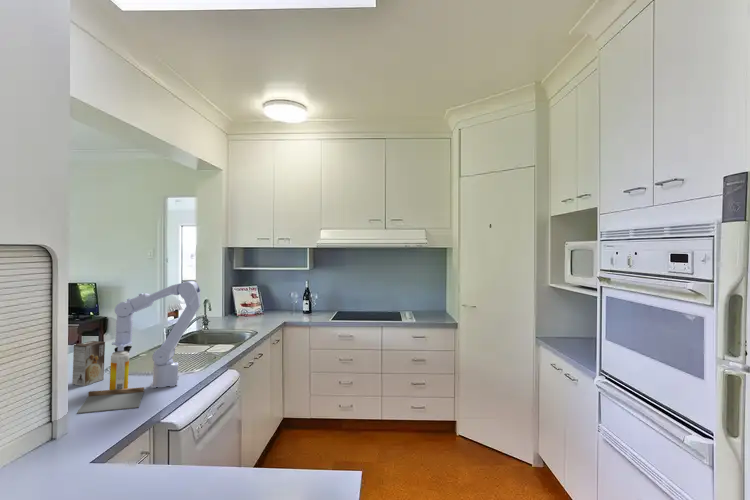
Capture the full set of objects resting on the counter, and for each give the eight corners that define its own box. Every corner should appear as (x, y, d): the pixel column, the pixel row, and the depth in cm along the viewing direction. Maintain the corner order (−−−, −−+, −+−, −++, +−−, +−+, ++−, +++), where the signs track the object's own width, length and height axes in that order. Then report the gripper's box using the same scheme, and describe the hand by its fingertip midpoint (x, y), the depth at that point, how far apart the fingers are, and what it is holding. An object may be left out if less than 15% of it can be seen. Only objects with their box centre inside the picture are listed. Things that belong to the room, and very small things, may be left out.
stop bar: (144, 391, 161) (144, 387, 161) (143, 392, 160) (143, 388, 160) (88, 396, 154) (89, 391, 154) (88, 397, 153) (88, 392, 153)
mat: (143, 392, 160) (143, 391, 160) (138, 407, 145) (138, 406, 145) (88, 397, 153) (88, 396, 153) (76, 413, 137) (76, 412, 137)
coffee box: (91, 378, 175) (93, 340, 175) (104, 379, 174) (106, 341, 174) (71, 384, 166) (73, 344, 166) (84, 386, 165) (86, 345, 165)
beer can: (125, 387, 165) (127, 350, 165) (129, 391, 161) (131, 353, 161) (107, 390, 161) (109, 352, 161) (111, 394, 156) (113, 355, 157)
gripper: (115, 328, 172) (114, 361, 172) (109, 335, 159) (107, 370, 159) (135, 328, 175) (133, 360, 175) (130, 334, 162) (128, 369, 162)
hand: (122, 365), depth 167 cm, fingers closed
